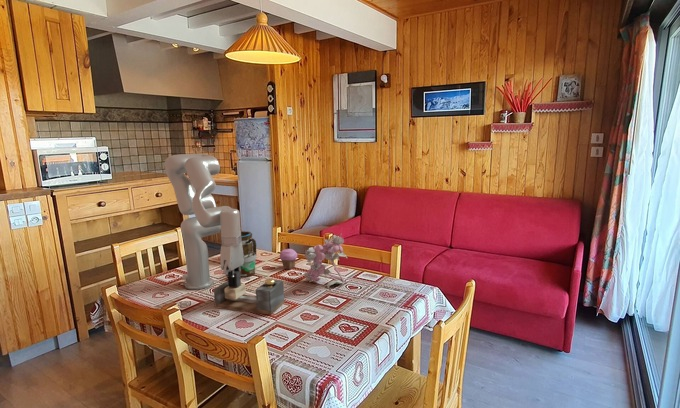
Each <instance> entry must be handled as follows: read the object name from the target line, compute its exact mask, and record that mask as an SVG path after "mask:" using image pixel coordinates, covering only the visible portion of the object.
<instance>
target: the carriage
mask: <svg viewBox="0 0 680 408" xmlns="http://www.w3.org/2000/svg"><path fill="white" fill-rule="evenodd" d="M230 272H231V271H230ZM234 277H236V286H235V287H234V286H228V287H226V288H225V289H224V290H225V298H227V299H235V300H236V299H238V298H239V297H240V296H242V295H243V294H244V295H246V291H247V290H246V283H242V279H241V280H240V278H241V277H240V271H234Z"/></svg>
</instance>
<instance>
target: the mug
mask: <svg viewBox="0 0 680 408" xmlns="http://www.w3.org/2000/svg"><path fill="white" fill-rule="evenodd" d="M241 242H242V247H243V254H244V256H245V255H247V254H248V252H254V253H255V254H256V255H257V241H256V240H255V239H254V238H253V233H252V232H251V231H245V230H244V231H243V230H241Z"/></svg>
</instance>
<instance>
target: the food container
mask: <svg viewBox="0 0 680 408" xmlns="http://www.w3.org/2000/svg"><path fill="white" fill-rule="evenodd" d="M256 260H257V253H256V254H255V253H254V252H248V254H247V255H245V256H244V264H243V266H242V268H241V273H240V278H241V279H246V278H250V277H254V276H255V275H256Z"/></svg>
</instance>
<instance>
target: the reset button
mask: <svg viewBox="0 0 680 408" xmlns="http://www.w3.org/2000/svg"><path fill="white" fill-rule="evenodd" d="M274 280H275V279H274V278H267V279H265V280H264V283H265V285H266V286H267V287H273V285H274V284H275V282H274Z"/></svg>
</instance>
